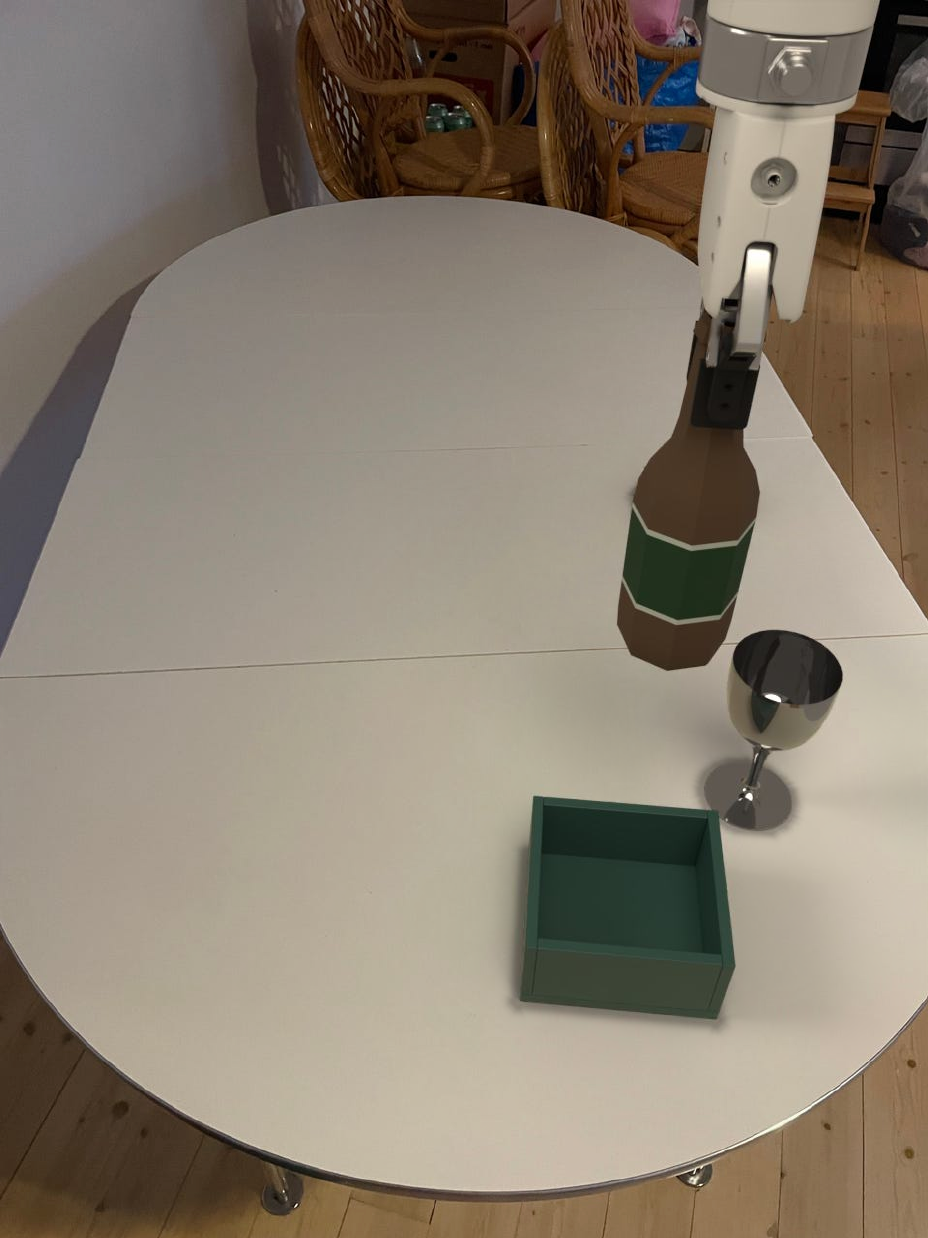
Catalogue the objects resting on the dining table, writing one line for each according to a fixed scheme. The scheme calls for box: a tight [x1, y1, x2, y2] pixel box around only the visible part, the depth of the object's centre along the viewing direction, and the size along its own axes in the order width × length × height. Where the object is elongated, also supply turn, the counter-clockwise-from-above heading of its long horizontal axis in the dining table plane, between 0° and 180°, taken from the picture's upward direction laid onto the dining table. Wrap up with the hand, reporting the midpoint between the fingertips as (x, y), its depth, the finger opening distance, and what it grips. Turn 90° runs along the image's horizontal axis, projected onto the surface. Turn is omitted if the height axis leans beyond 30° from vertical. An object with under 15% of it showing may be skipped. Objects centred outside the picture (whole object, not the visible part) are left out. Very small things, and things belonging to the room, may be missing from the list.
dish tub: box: [519, 795, 736, 1020], centre depth 75 cm, size 14×13×7 cm
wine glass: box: [703, 629, 844, 831], centre depth 81 cm, size 8×8×15 cm
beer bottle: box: [616, 311, 761, 672], centre depth 66 cm, size 8×8×24 cm
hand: (715, 402), depth 61 cm, fingers closed on beer bottle, 3 cm apart
